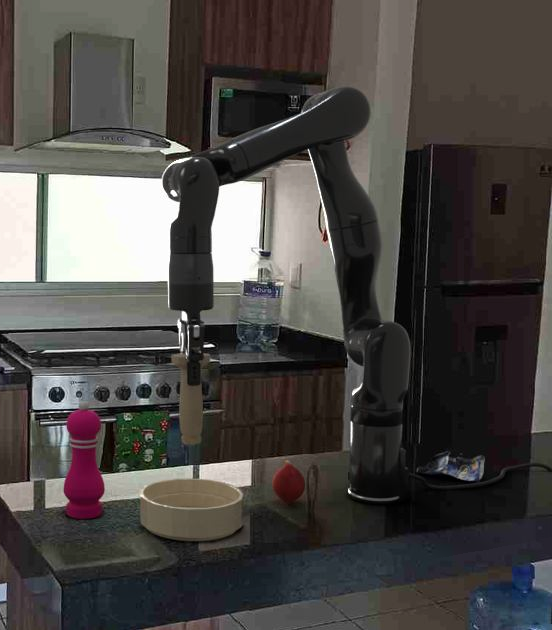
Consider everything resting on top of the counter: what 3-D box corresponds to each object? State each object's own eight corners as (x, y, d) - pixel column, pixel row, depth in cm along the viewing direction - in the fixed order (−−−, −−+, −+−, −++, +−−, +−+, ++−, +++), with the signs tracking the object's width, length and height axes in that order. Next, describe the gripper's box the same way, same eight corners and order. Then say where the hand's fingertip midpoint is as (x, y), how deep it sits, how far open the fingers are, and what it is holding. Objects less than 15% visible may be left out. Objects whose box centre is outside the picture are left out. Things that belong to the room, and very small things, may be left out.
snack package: (442, 487, 161) (494, 481, 163) (438, 454, 161) (491, 449, 164) (408, 481, 172) (457, 475, 175) (405, 450, 173) (454, 445, 176)
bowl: (232, 507, 148) (233, 477, 148) (252, 541, 131) (252, 508, 131) (137, 509, 147) (137, 479, 147) (143, 544, 130) (143, 510, 130)
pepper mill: (73, 522, 140) (72, 406, 139) (57, 510, 147) (56, 399, 145) (111, 516, 144) (111, 402, 142) (94, 504, 150) (93, 395, 148)
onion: (306, 501, 152) (307, 458, 151) (302, 510, 147) (303, 466, 146) (274, 498, 154) (275, 455, 153) (269, 507, 148) (270, 463, 148)
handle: (214, 445, 138) (214, 355, 136) (178, 448, 136) (177, 357, 134) (203, 438, 142) (203, 352, 141) (168, 441, 140) (167, 354, 139)
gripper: (220, 282, 130) (220, 389, 131) (206, 278, 144) (207, 375, 145) (172, 283, 129) (173, 390, 131) (163, 279, 144) (164, 376, 145)
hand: (191, 382), depth 138 cm, fingers closed on handle, 5 cm apart
